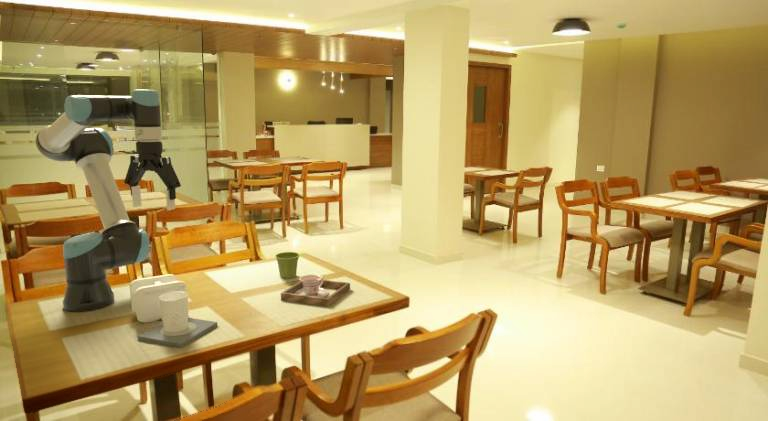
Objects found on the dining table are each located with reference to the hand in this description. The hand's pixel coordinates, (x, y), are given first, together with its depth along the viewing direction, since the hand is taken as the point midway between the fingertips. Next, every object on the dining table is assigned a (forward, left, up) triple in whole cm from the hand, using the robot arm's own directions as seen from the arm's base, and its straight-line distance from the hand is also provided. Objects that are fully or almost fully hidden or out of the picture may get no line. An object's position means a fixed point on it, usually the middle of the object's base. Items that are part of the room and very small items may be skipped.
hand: (154, 208), depth 169 cm
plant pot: (+21, +44, -34) cm, 60 cm away
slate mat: (+18, -14, -34) cm, 41 cm away
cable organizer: (+3, -5, -34) cm, 34 cm away
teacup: (+40, +29, -34) cm, 60 cm away
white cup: (+18, -14, -33) cm, 39 cm away
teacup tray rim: (+42, +29, -34) cm, 61 cm away
